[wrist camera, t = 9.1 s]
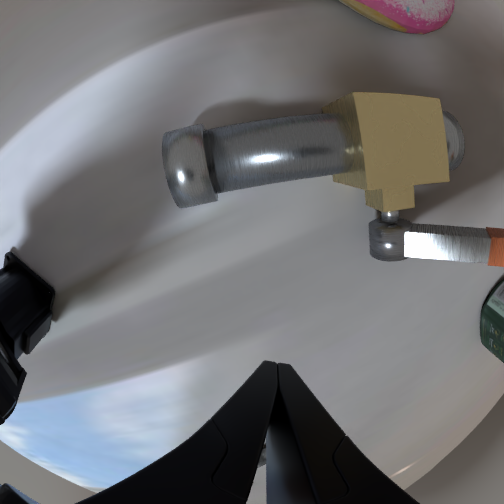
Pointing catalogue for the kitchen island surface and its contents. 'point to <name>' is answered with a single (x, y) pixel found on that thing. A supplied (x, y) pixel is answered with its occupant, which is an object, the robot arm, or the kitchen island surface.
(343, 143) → the pipe valve
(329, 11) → the kitchen island surface
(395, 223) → the chisel
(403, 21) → the donut
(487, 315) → the coffee jar
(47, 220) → the kitchen island surface
